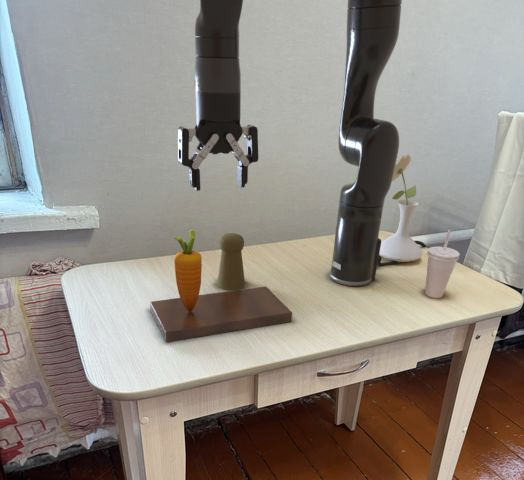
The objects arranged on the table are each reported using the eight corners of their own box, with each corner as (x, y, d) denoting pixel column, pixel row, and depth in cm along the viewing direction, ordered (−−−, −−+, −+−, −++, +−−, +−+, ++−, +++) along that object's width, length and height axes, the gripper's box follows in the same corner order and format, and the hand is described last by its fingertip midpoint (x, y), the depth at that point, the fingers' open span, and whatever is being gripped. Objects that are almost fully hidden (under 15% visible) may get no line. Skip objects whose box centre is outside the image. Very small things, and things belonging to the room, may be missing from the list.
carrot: (181, 319, 90) (178, 238, 82) (172, 308, 94) (168, 228, 86) (207, 314, 92) (206, 234, 84) (197, 303, 96) (195, 226, 88)
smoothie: (450, 292, 110) (467, 229, 103) (446, 303, 105) (463, 238, 98) (421, 285, 113) (435, 224, 105) (415, 296, 108) (430, 232, 100)
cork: (241, 291, 106) (242, 241, 100) (213, 288, 107) (213, 237, 101) (247, 280, 111) (249, 231, 105) (221, 277, 112) (221, 228, 106)
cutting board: (265, 294, 105) (266, 286, 104) (291, 321, 95) (292, 312, 94) (150, 311, 97) (149, 301, 95) (166, 342, 87) (165, 332, 86)
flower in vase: (399, 247, 134) (418, 147, 121) (430, 262, 126) (454, 156, 113) (360, 253, 129) (376, 150, 116) (389, 269, 120) (410, 159, 107)
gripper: (182, 90, 78) (187, 196, 87) (266, 90, 83) (263, 190, 92) (170, 86, 84) (175, 186, 92) (249, 86, 89) (247, 181, 98)
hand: (219, 188), depth 92 cm, fingers open, 8 cm apart
